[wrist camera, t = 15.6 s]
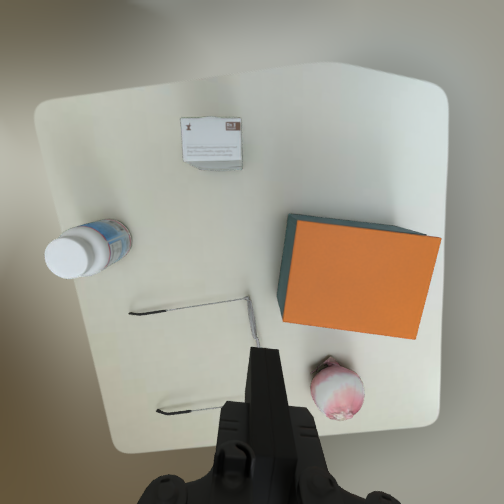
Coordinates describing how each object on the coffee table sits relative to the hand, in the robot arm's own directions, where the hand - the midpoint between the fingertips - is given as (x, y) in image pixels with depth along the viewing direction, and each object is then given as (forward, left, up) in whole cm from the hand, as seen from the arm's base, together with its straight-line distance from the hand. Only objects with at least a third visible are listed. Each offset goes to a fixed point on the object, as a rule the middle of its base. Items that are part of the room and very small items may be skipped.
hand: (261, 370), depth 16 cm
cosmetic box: (-12, -8, -29) cm, 32 cm away
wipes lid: (-2, +12, -20) cm, 23 cm away
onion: (+16, +18, -29) cm, 37 cm away
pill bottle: (+4, -20, -29) cm, 35 cm away
